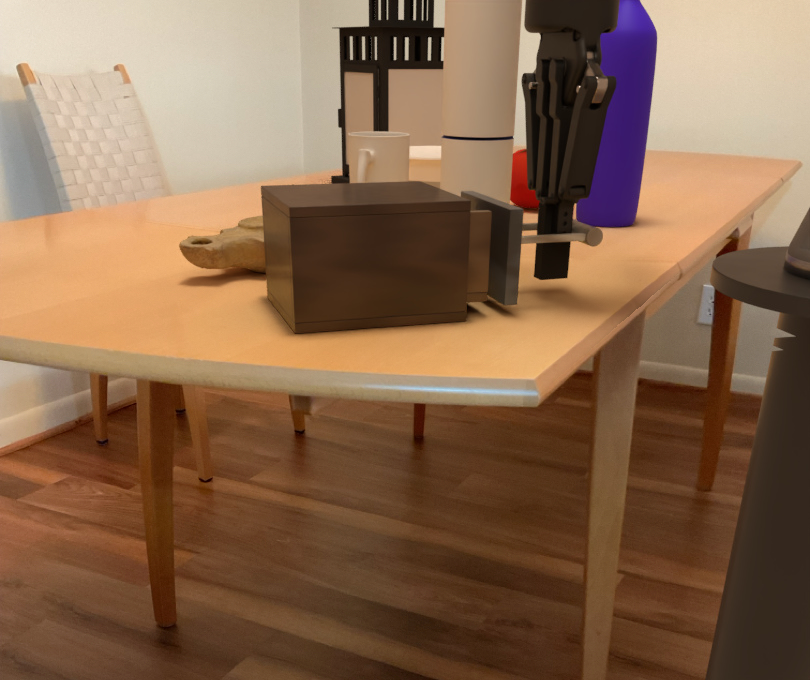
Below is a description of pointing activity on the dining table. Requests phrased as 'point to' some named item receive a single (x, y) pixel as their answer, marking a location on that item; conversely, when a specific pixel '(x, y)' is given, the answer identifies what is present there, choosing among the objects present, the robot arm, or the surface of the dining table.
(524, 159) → the tomato
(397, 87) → the lantern
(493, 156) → the cylindrical container
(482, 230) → the drawer
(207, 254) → the oil lamp
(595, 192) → the bottle
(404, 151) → the mug
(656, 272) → the dining table surface
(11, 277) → the dining table surface
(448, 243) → the cabinet
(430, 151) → the bowl
